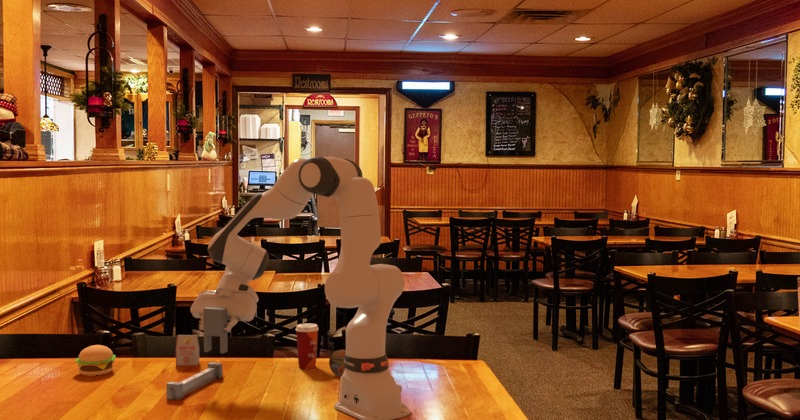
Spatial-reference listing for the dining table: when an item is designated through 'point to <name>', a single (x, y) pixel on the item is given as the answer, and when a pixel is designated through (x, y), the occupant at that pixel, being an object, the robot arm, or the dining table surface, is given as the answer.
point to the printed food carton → (187, 350)
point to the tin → (337, 362)
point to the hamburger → (95, 360)
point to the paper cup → (307, 345)
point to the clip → (215, 327)
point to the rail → (194, 381)
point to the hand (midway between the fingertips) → (214, 330)
